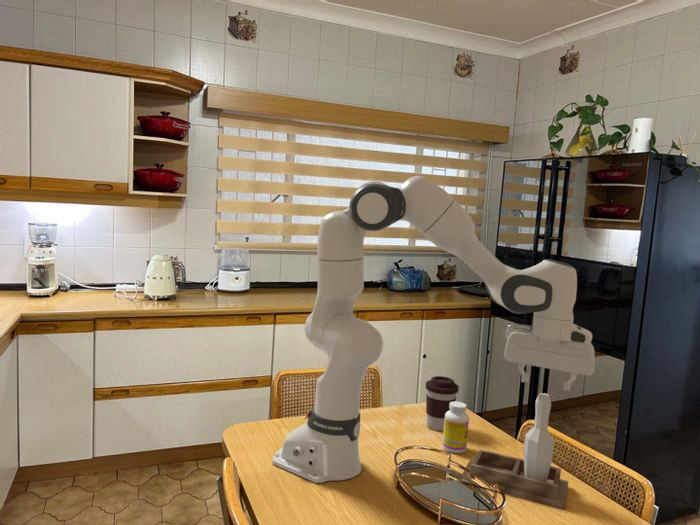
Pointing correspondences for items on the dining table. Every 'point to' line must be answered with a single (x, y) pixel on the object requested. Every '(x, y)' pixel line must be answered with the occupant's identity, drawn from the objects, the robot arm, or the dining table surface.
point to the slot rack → (518, 478)
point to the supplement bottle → (456, 428)
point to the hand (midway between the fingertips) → (545, 386)
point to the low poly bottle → (539, 442)
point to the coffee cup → (439, 400)
